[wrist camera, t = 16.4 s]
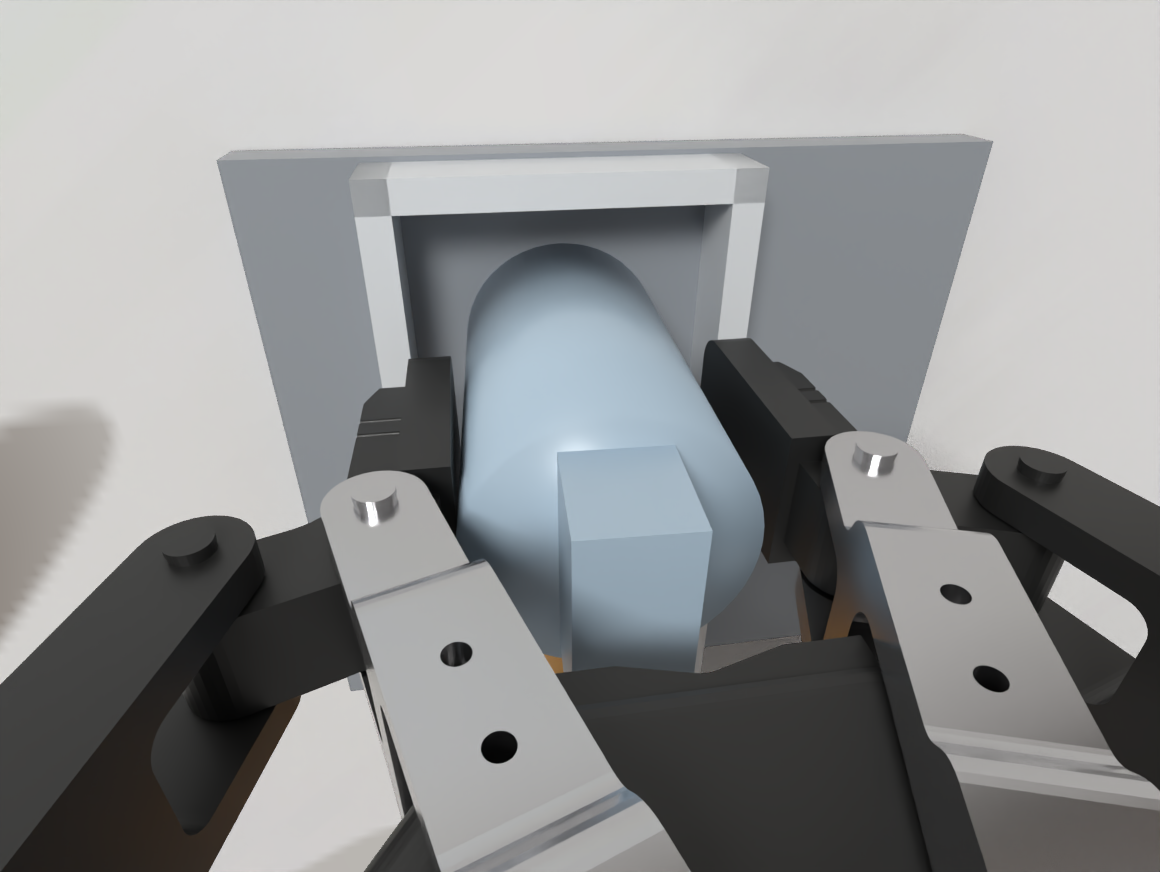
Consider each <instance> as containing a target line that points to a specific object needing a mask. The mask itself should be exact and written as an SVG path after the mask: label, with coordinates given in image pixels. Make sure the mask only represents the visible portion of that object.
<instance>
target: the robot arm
mask: <svg viewBox="0 0 1160 872" xmlns="http://www.w3.org/2000/svg"><path fill="white" fill-rule="evenodd" d="M700 388H701V390H702V391H703V393H704V395H705V397H706V398H707V400H708V402H709V404H710V405H711V407H712V409H713V411H714V412H715V414H716V416H717V418H718V420H719V421H720V423H721V425H722V427H723V428H724V430H725V432H726V434H727V435H728V437H729V439H730V441H731V442H732V444H733V446H734V448H735V450H736V451H737V453H738V455H739V457H740V458H741V460H742V462H743V464H744V465H745V467H746V469H747V471H748V472H749V474H750V476H751V478H752V480H753V481H754V484H755V486H756V488H757V491H758V493H759V495H760V499H761V503H762V507H763V511H764V526H765V527H764V537H763V544H762V548H761V552H762V554H763V555H764V557H765V559H766V561H767V562H768V564H771V563H780V562H789V561H796V562H797V564H798V565H799V568H798V573H797V578H796V582H795V597H796V604H797V611H798V618H799V625H800V632H801V639H802V643H794V644H786V645H782V646H779V647H776V648H774V649H771V650H769V651H766V652H763V653H761V654H758V655H756V656H753V657H750V658H748V659H745V660H743V661H740V662H737V663H735V664H732V665H730V666H727V667H725V668H722V669H719V670H717V671H714V672H710V673H691V672H679V671H667V670H655V669H644V668H632V667H620V666H611V667H603V668H595V669H587V670H579V671H571V672H563V673H556V674H555V673H554V671H553V669H552V668H551V666H550V664H549V663H548V661H547V659H546V658H545V656H544V654H543V653H542V651H541V649H540V648H539V646H538V644H537V643H536V641H535V639H534V638H533V636H532V634H531V633H530V631H529V629H528V628H527V626H526V624H525V623H524V621H523V619H522V618H521V616H520V614H519V612H518V611H517V609H516V607H515V606H514V604H513V602H512V601H511V599H510V597H509V596H508V594H507V592H506V591H505V589H504V587H503V586H502V584H501V582H500V581H499V579H498V577H497V576H496V574H495V572H494V571H493V569H492V567H491V566H490V565H489V563H488V562H487V561H486V560H484V559H479V560H476V561H473V562H469V561H468V559H467V557H466V555H465V554H464V552H463V550H462V548H461V546H460V545H459V543H458V541H457V539H456V530H457V511H458V493H459V474H460V456H461V447H460V435H459V425H458V415H457V406H456V396H455V386H454V376H453V367H452V359H451V356H444V357H428V358H413V359H408V366H407V374H406V382H405V387H392V388H379V389H378V390H377V391H376V392H375V393H374V394H373V395H372V396H371V397H370V398H369V399H368V400H367V401H366V402H365V403H364V405H363V409H362V414H361V418H360V424H359V427H358V432H357V438H356V441H355V445H354V450H353V454H352V459H351V464H350V468H349V473H348V477H347V480H345V481H343V482H341V483H339V484H338V485H337V486H335V487H334V488H332V489H331V490H330V491H329V492H328V493H327V494H326V496H325V497H324V498H323V501H322V503H321V507H320V513H321V517H320V518H318V519H316V520H314V521H313V522H311V523H308V524H306V525H304V526H301V527H298V528H296V529H293V530H289V531H286V532H283V533H279V534H276V535H272V536H269V537H265V538H262V539H259V540H256V537H255V534H254V531H253V529H252V528H251V526H250V525H249V524H247V523H246V522H245V521H243V520H241V519H238V518H234V517H229V516H204V517H199V518H193V519H190V520H186V521H183V522H180V523H177V524H174V525H172V526H170V527H167V528H165V529H163V530H161V531H159V532H158V533H156V534H154V535H153V536H151V537H150V538H148V539H147V540H145V541H144V542H143V543H142V544H141V545H140V546H139V547H137V548H136V549H135V550H134V551H133V552H132V553H131V554H130V555H129V556H128V557H127V558H126V559H125V560H124V561H123V562H122V563H121V564H120V565H119V566H118V567H117V568H116V569H115V570H114V571H113V572H112V573H111V574H110V575H109V576H108V577H107V578H106V579H105V580H104V581H103V582H102V583H101V584H100V585H99V586H98V587H97V588H96V589H95V590H94V591H93V592H92V593H91V594H90V595H89V596H88V597H87V598H86V599H85V600H84V601H83V602H82V603H81V604H80V605H79V606H78V607H77V608H76V609H75V610H74V611H73V613H72V614H71V615H70V616H69V617H68V618H67V619H66V620H65V621H64V622H63V623H62V624H61V625H60V626H59V627H58V628H57V629H56V630H55V631H54V632H53V633H52V634H51V635H50V636H49V637H48V638H47V639H46V640H45V641H44V642H43V643H42V644H41V645H40V646H39V647H38V648H37V649H36V650H35V651H34V652H33V653H32V654H31V655H30V656H29V657H28V658H27V659H26V660H25V661H24V662H23V663H22V664H21V665H20V666H19V667H18V668H17V669H16V670H15V671H14V672H13V673H12V674H11V675H10V676H9V677H8V678H7V679H6V680H5V681H4V682H3V683H2V684H1V685H0V872H209V870H210V868H211V866H212V864H213V862H214V860H215V859H216V857H217V855H218V853H219V851H220V849H221V848H222V846H223V844H224V842H225V840H226V838H227V836H228V835H229V833H230V831H231V829H232V827H233V825H234V823H235V822H236V820H237V818H238V816H239V814H240V812H241V811H242V809H243V807H244V805H245V803H246V801H247V799H248V798H249V796H250V794H251V792H252V790H253V788H254V786H255V785H256V783H257V781H258V779H259V777H260V775H261V774H262V772H263V770H264V768H265V766H266V764H267V762H268V761H269V759H270V757H271V755H272V753H273V751H274V749H275V748H276V746H277V744H278V742H279V740H280V738H281V737H282V735H283V733H284V731H285V729H286V727H287V725H288V724H289V722H290V720H291V718H292V716H293V714H294V712H295V711H296V709H297V706H298V704H299V702H300V698H301V695H303V694H305V693H308V692H310V691H313V690H315V689H318V688H321V687H323V686H326V685H328V684H331V683H333V682H336V681H339V680H341V679H344V678H346V677H349V676H352V675H354V674H357V673H359V674H360V677H361V681H362V684H363V687H364V691H365V694H366V697H367V701H368V704H369V707H370V710H371V714H372V717H373V720H374V724H375V727H376V730H377V734H378V737H379V740H380V744H381V747H382V750H383V754H384V757H385V760H386V764H387V767H388V771H389V774H390V778H391V781H392V785H393V789H394V793H395V797H396V800H397V804H398V808H399V812H400V815H401V819H402V820H401V822H400V823H399V824H398V826H397V827H396V828H395V830H394V831H393V833H392V834H391V835H390V837H389V838H388V839H387V841H386V842H385V843H384V845H383V846H382V848H381V849H380V850H379V852H378V853H377V854H376V856H375V857H374V859H373V860H372V861H371V863H370V864H369V865H368V867H367V868H366V870H365V871H364V872H1160V507H1159V506H1157V505H1156V504H1154V503H1152V502H1150V501H1148V500H1146V499H1144V498H1142V497H1140V496H1138V495H1136V494H1134V493H1133V492H1131V491H1129V490H1127V489H1125V488H1123V487H1121V486H1119V485H1117V484H1115V483H1113V482H1111V481H1110V480H1108V479H1106V478H1104V477H1102V476H1100V475H1098V474H1096V473H1094V472H1092V471H1090V470H1088V469H1086V468H1085V467H1083V466H1081V465H1079V464H1077V463H1075V462H1073V461H1071V460H1069V459H1067V458H1065V457H1062V456H1060V455H1057V454H1055V453H1051V452H1048V451H1045V450H1041V449H1036V448H1031V447H1023V446H1004V447H999V448H995V449H993V450H991V451H989V452H988V453H987V454H986V456H985V458H984V461H983V464H982V466H981V469H980V472H979V475H972V474H962V473H953V472H943V471H934V470H930V469H929V467H928V465H927V463H926V461H925V459H924V458H923V456H922V455H921V454H920V453H919V452H918V451H917V450H916V449H915V448H913V447H912V446H910V445H909V444H907V443H905V442H903V441H901V440H899V439H896V438H894V437H891V436H887V435H884V434H880V433H875V432H867V431H857V430H856V429H855V428H854V427H853V426H852V425H851V424H850V423H849V421H848V420H847V419H846V418H845V417H844V416H843V415H842V414H841V413H840V412H839V411H838V410H837V409H836V408H835V407H834V406H833V405H832V404H831V403H830V402H827V399H826V398H825V397H824V396H823V395H822V394H821V393H820V392H819V391H818V390H816V389H815V388H816V387H815V386H814V385H813V384H812V383H811V382H810V381H809V380H808V379H807V378H806V377H805V376H804V375H803V374H802V373H800V372H798V371H796V370H794V369H792V368H791V367H789V366H787V365H785V364H783V363H781V362H773V361H772V360H771V359H770V358H769V357H768V356H767V355H766V354H765V353H764V352H763V351H762V349H761V348H760V347H759V346H758V345H757V344H756V343H755V342H754V341H753V340H752V339H751V338H737V339H721V340H710V341H708V343H707V345H706V347H705V351H704V357H703V367H702V376H701V386H700ZM1064 560H1066V561H1067V562H1069V563H1070V564H1072V565H1073V566H1075V567H1076V568H1078V569H1080V570H1081V571H1083V572H1084V573H1086V574H1087V575H1089V576H1090V577H1092V578H1094V579H1095V580H1097V581H1098V582H1100V583H1101V584H1103V585H1105V586H1106V587H1108V588H1109V589H1111V590H1112V591H1114V592H1115V593H1117V594H1119V595H1120V596H1122V597H1123V598H1125V599H1126V600H1128V601H1129V602H1130V603H1132V604H1133V605H1134V606H1135V607H1136V608H1137V609H1138V610H1139V611H1140V613H1141V614H1142V616H1143V617H1144V619H1145V622H1146V624H1147V628H1148V636H1147V640H1146V642H1145V644H1144V646H1143V647H1142V649H1141V651H1140V652H1139V654H1138V656H1137V657H1136V659H1135V658H1134V657H1132V656H1131V655H1129V654H1128V653H1127V652H1125V651H1124V650H1122V649H1121V648H1119V647H1118V646H1117V645H1115V644H1114V643H1112V642H1111V641H1109V640H1108V639H1106V638H1105V637H1104V636H1102V635H1101V634H1099V633H1098V632H1096V631H1095V630H1094V629H1092V628H1091V627H1089V626H1088V625H1086V624H1085V623H1084V622H1082V621H1081V620H1079V619H1078V618H1076V617H1075V616H1074V615H1072V614H1071V613H1069V612H1068V611H1066V610H1065V609H1064V608H1062V607H1061V606H1059V605H1058V604H1056V603H1055V602H1054V601H1052V600H1051V599H1049V598H1048V597H1047V596H1048V594H1049V592H1050V590H1051V588H1052V586H1053V583H1054V581H1055V579H1056V577H1057V575H1058V573H1059V571H1060V569H1061V567H1062V565H1063V562H1064Z"/></svg>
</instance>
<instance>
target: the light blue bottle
mask: <svg viewBox="0 0 1160 872" xmlns="http://www.w3.org/2000/svg"><path fill="white" fill-rule="evenodd" d="M764 527H765V526H764V511H763V507H762V503H761V499H760V495H759V493H758V491H757V488H756V486H755V484H754V481H753V480H752V478H751V476H750V474H749V472H748V471H747V469H746V467H745V465H744V464H743V462H742V460H741V458H740V457H739V455H738V453H737V451H736V450H735V448H734V446H733V444H732V442H731V441H730V439H729V437H728V435H727V434H726V432H725V430H724V428H723V427H722V425H721V423H720V421H719V420H718V418H717V416H716V414H715V412H714V411H713V409H712V407H711V405H710V404H709V402H708V400H707V398H706V397H705V395H704V393H703V391H702V390H701V388H700V386H699V384H698V382H697V381H696V379H695V377H694V375H693V374H692V372H691V370H690V368H689V367H688V365H687V363H686V361H685V360H684V358H683V356H682V354H681V352H680V351H679V349H678V347H677V345H676V344H675V342H674V340H673V338H672V337H671V335H670V333H669V331H668V330H667V328H666V326H665V324H664V322H663V321H662V319H661V317H660V315H659V314H658V312H657V310H656V308H655V307H654V305H653V303H652V301H651V300H650V298H649V296H648V294H647V292H646V291H645V289H644V287H643V286H642V284H641V283H640V281H639V280H638V278H637V277H636V276H635V275H634V274H633V272H632V271H631V270H630V269H629V268H628V267H626V266H625V265H624V264H623V263H622V262H621V261H619V260H618V259H616V258H614V257H613V256H611V255H610V254H607V253H605V252H603V251H601V250H599V249H596V248H592V247H589V246H585V245H579V244H570V243H558V244H548V245H543V246H539V247H535V248H532V249H529V250H527V251H524V252H522V253H520V254H518V255H516V256H514V257H512V258H511V259H509V260H508V261H506V262H505V263H504V264H502V265H501V266H500V267H499V268H498V269H496V270H495V271H494V272H493V273H492V274H491V275H490V276H489V278H488V279H487V280H486V281H485V283H484V284H483V285H482V287H481V289H480V290H479V292H478V294H477V296H476V298H475V300H474V303H473V305H472V308H471V312H470V315H469V320H468V328H467V345H466V364H465V382H464V400H463V419H462V437H461V456H460V474H459V493H458V511H457V530H456V539H457V541H458V543H459V545H460V546H461V548H462V550H463V552H464V554H465V555H466V557H467V559H468V561H469V562H473V561H476V560H479V559H484V560H486V561H487V562H488V563H489V565H490V566H491V567H492V569H493V571H494V572H495V574H496V576H497V577H498V579H499V581H500V582H501V584H502V586H503V587H504V589H505V591H506V592H507V594H508V596H509V597H510V599H511V601H512V602H513V604H514V606H515V607H516V609H517V611H518V612H519V614H520V616H521V618H522V619H523V621H524V623H525V624H526V626H527V628H528V629H529V631H530V633H531V634H532V636H533V638H534V639H535V641H536V643H537V644H538V646H539V648H540V649H541V651H542V653H543V654H546V655H550V656H554V657H559V658H562V663H563V672H571V671H579V670H587V669H595V668H603V667H611V666H620V667H632V668H644V669H655V670H667V671H679V672H691V673H694V671H695V663H696V656H697V648H698V640H699V633H700V628H701V627H703V626H704V625H706V624H707V623H709V622H710V621H711V620H712V619H713V618H715V617H716V616H717V615H718V614H720V613H721V612H722V611H723V610H724V609H725V608H726V607H727V606H728V605H729V604H730V603H731V602H732V601H733V600H734V599H735V597H736V596H737V595H738V594H739V592H740V591H741V590H742V588H743V587H744V586H745V584H746V582H747V581H748V579H749V577H750V576H751V574H752V572H753V570H754V568H755V565H756V563H757V561H758V558H759V555H760V551H761V548H762V544H763V537H764Z"/></svg>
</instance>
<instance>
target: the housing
mask: <svg viewBox="0 0 1160 872" xmlns="http://www.w3.org/2000/svg"><path fill="white" fill-rule="evenodd" d="M992 144H993V141H990V140H985V139H981V138H977V137H973V136H969V135H965V134H943V135H899V136H856V137H812V138H769V139H725V140H682V141H638V142H595V143H551V144H507V145H464V146H420V147H377V148H333V149H290V150H246V151H231V152H229V153H228V154H226V155H224V156H223V157H221V158H220V159H218V160H217V164H218V168H219V172H220V176H221V180H222V184H223V188H224V192H225V195H226V199H227V203H228V207H229V211H230V215H231V219H232V223H233V227H234V231H235V235H236V239H237V243H238V247H239V251H240V255H241V259H242V263H243V267H244V271H245V275H246V279H247V283H248V287H249V290H250V294H251V298H252V302H253V306H254V310H255V314H256V318H257V322H258V326H259V330H260V334H261V338H262V342H263V346H264V350H265V354H266V358H267V362H268V366H269V370H270V374H271V378H272V381H273V385H274V389H275V393H276V397H277V401H278V405H279V409H280V413H281V417H282V421H283V425H284V429H285V433H286V437H287V441H288V445H289V449H290V453H291V457H292V461H293V465H294V469H295V473H296V476H297V480H298V484H299V488H300V492H301V496H302V500H303V504H304V508H305V512H306V516H307V520H308V523H311V522H313V521H314V520H316V519H318V518H320V517H321V513H320V507H321V503H322V501H323V498H324V497H325V496H326V494H327V493H328V492H329V491H330V490H331V489H332V488H334V487H335V486H337V485H338V484H339V483H341V482H343V481H345V480H347V477H348V473H349V468H350V464H351V459H352V454H353V450H354V445H355V441H356V438H357V432H358V427H359V424H360V418H361V414H362V409H363V405H364V403H365V402H366V401H367V400H368V399H369V398H370V397H371V396H372V395H373V394H374V393H375V392H376V391H377V390H378V389H379V388H392V387H405V382H406V374H407V366H408V359H413V358H428V357H444V356H451V359H452V367H453V376H454V386H455V396H456V406H457V415H458V425H459V435H460V447H461V437H462V419H463V400H464V382H465V364H466V345H467V328H468V320H469V315H470V312H471V308H472V305H473V303H474V300H475V298H476V296H477V294H478V292H479V290H480V289H481V287H482V285H483V284H484V283H485V281H486V280H487V279H488V278H489V276H490V275H491V274H492V273H493V272H494V271H495V270H496V269H498V268H499V267H500V266H501V265H502V264H504V263H505V262H506V261H508V260H509V259H511V258H512V257H514V256H516V255H518V254H520V253H522V252H524V251H527V250H529V249H532V248H535V247H539V246H543V245H548V244H558V243H570V244H579V245H585V246H589V247H592V248H596V249H599V250H601V251H603V252H605V253H607V254H610V255H611V256H613V257H614V258H616V259H618V260H619V261H621V262H622V263H623V264H624V265H625V266H626V267H628V268H629V269H630V270H631V271H632V272H633V274H634V275H635V276H636V277H637V278H638V280H639V281H640V283H641V284H642V286H643V287H644V289H645V291H646V292H647V294H648V296H649V298H650V300H651V301H652V303H653V305H654V307H655V308H656V310H657V312H658V314H659V315H660V317H661V319H662V321H663V322H664V324H665V326H666V328H667V330H668V331H669V333H670V335H671V337H672V338H673V340H674V342H675V344H676V345H677V347H678V349H679V351H680V352H681V354H682V356H683V358H684V360H685V361H686V363H687V365H688V367H689V368H690V370H691V372H692V374H693V375H694V377H695V379H696V381H697V382H698V384H699V386H701V376H702V367H703V357H704V351H705V347H706V345H707V343H708V341H710V340H721V339H737V338H751V339H752V340H753V341H754V342H755V343H756V344H757V345H758V346H759V347H760V348H761V349H762V351H763V352H764V353H765V354H766V355H767V356H768V357H769V358H770V359H771V360H772V361H773V362H781V363H783V364H785V365H787V366H789V367H791V368H792V369H794V370H796V371H798V372H800V373H802V374H803V375H804V376H805V377H806V378H807V379H808V380H809V381H810V382H811V383H812V384H813V385H814V386H815V387H816V388H815V389H816V390H818V391H819V392H820V393H821V394H822V395H823V396H824V397H825V398H826V399H827V402H830V403H831V404H832V405H833V406H834V407H835V408H836V409H837V410H838V411H839V412H840V413H841V414H842V415H843V416H844V417H845V418H846V419H847V420H848V421H849V423H850V424H851V425H852V426H853V427H854V428H855V429H856V430H857V431H867V432H875V433H880V434H884V435H887V436H891V437H894V438H896V439H899V440H901V441H903V442H905V443H906V442H907V438H908V435H909V431H910V428H911V424H912V421H913V417H914V414H915V410H916V407H917V404H918V400H919V397H920V393H921V390H922V386H923V383H924V379H925V376H926V372H927V369H928V365H929V362H930V359H931V355H932V352H933V348H934V345H935V341H936V338H937V334H938V331H939V327H940V324H941V320H942V317H943V313H944V310H945V307H946V303H947V300H948V296H949V293H950V289H951V286H952V282H953V279H954V275H955V272H956V268H957V265H958V262H959V258H960V255H961V251H962V248H963V244H964V241H965V237H966V234H967V230H968V227H969V223H970V220H971V216H972V213H973V210H974V206H975V203H976V199H977V196H978V192H979V189H980V185H981V182H982V178H983V175H984V171H985V168H986V165H987V161H988V158H989V154H990V151H991V147H992ZM798 568H799V565H798V564H797V562H796V561H789V562H780V563H771V564H768V562H767V561H766V559H765V557H764V555H763V554H762V552H761V551H760V555H759V558H758V561H757V563H756V565H755V568H754V570H753V572H752V574H751V576H750V577H749V579H748V581H747V582H746V584H745V586H744V587H743V588H742V590H741V591H740V592H739V594H738V595H737V596H736V597H735V599H734V600H733V601H732V602H731V603H730V604H729V605H728V606H727V607H726V608H725V609H724V610H723V611H722V612H721V613H720V614H718V615H717V616H716V617H715V618H713V619H712V620H711V621H710V622H709V623H707V624H706V625H704V626H703V627H701V628H700V633H699V640H698V648H697V656H696V663H695V671H694V673H701V667H702V660H703V653H704V647H708V646H716V645H724V644H732V643H740V642H748V641H756V640H764V639H772V638H780V637H788V636H796V635H801V632H800V625H799V618H798V611H797V604H796V597H795V582H796V578H797V573H798ZM347 678H348V682H349V686H350V690H351V691H356V690H364V687H363V684H362V681H361V677H360V674H359V673H357V674H354V675H352V676H349V677H347Z"/></svg>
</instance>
